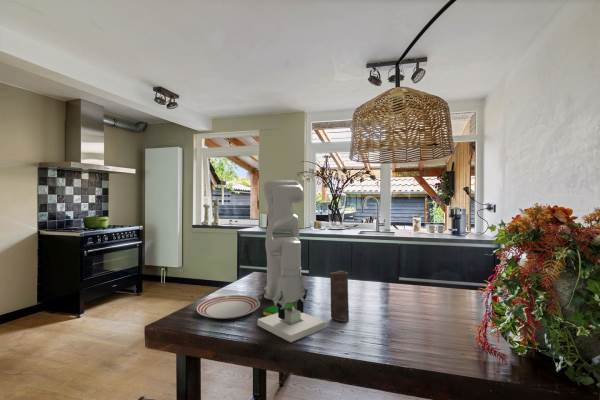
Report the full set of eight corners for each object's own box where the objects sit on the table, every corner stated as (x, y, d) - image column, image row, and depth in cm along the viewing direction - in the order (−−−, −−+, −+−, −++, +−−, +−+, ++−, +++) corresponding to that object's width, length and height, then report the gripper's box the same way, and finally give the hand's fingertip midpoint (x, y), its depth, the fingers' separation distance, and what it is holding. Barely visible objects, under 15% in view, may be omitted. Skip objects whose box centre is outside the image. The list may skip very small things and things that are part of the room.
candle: (334, 324, 122) (334, 274, 122) (327, 317, 129) (327, 270, 129) (351, 322, 124) (351, 272, 124) (344, 315, 131) (344, 268, 131)
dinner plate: (254, 324, 123) (254, 315, 123) (186, 323, 124) (186, 315, 124) (263, 301, 151) (263, 294, 151) (208, 301, 151) (208, 294, 151)
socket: (257, 325, 121) (257, 317, 121) (291, 313, 134) (291, 306, 134) (290, 342, 107) (290, 333, 107) (325, 327, 119) (325, 319, 119)
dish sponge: (294, 309, 140) (294, 304, 140) (275, 319, 129) (275, 313, 129) (282, 306, 144) (282, 301, 144) (262, 315, 133) (262, 310, 133)
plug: (281, 325, 121) (281, 307, 121) (291, 321, 124) (291, 304, 124) (291, 329, 117) (291, 311, 117) (300, 325, 120) (300, 308, 120)
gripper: (300, 266, 129) (300, 307, 129) (267, 273, 117) (267, 318, 117) (313, 269, 123) (313, 312, 124) (279, 277, 112) (279, 324, 112)
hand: (291, 315), depth 121 cm, fingers open, 9 cm apart
